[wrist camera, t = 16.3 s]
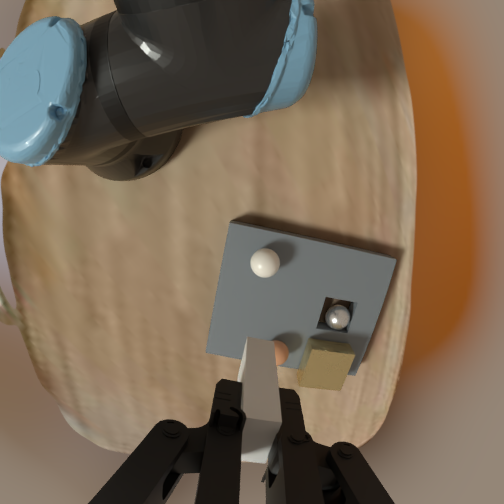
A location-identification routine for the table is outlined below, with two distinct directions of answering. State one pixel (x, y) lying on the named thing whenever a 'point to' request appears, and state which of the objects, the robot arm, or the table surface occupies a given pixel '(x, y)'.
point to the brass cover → (324, 364)
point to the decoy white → (265, 262)
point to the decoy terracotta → (280, 352)
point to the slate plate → (295, 293)
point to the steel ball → (337, 317)
